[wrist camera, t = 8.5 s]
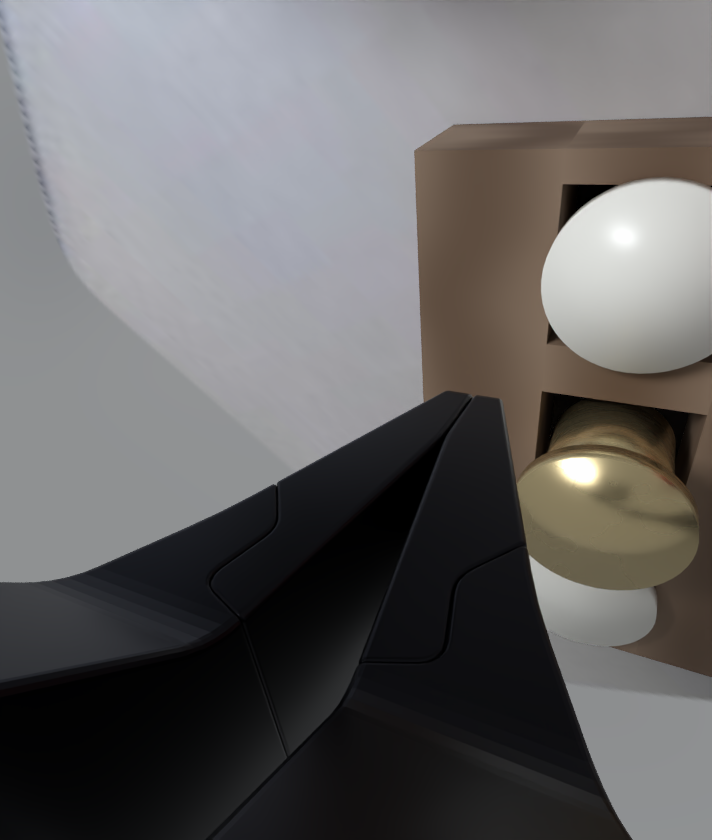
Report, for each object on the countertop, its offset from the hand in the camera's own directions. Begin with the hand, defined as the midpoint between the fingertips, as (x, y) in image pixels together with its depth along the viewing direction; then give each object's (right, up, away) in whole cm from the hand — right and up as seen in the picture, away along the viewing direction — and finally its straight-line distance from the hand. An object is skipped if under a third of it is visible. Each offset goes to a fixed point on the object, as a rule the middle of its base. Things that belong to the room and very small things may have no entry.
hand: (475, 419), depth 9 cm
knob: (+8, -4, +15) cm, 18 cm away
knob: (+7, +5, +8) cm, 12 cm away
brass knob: (+6, -1, +10) cm, 12 cm away
